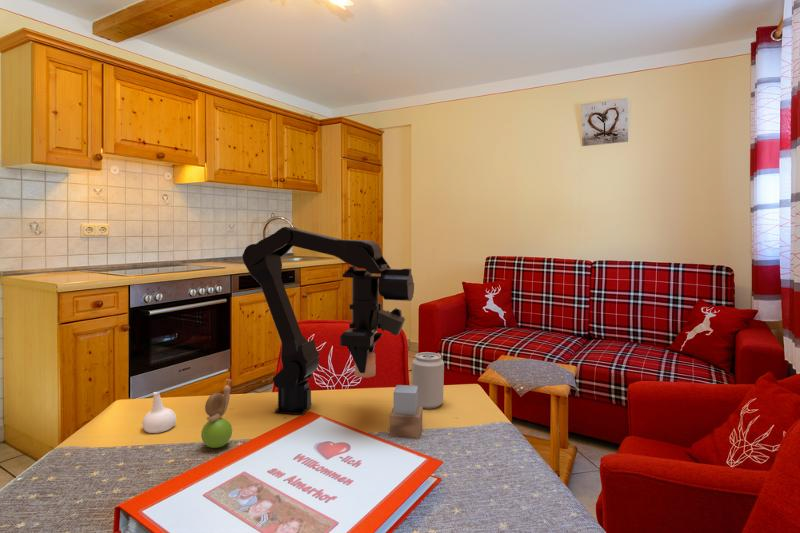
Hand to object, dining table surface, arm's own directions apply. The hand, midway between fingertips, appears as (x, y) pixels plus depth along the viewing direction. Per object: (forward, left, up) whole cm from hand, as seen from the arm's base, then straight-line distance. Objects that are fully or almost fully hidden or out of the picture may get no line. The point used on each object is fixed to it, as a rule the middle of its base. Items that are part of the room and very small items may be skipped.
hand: (364, 369), depth 102 cm
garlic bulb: (-40, -13, -11) cm, 44 cm away
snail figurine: (-24, -18, -11) cm, 32 cm away
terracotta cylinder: (0, 0, -1) cm, 1 cm away
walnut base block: (+10, -5, -11) cm, 16 cm away
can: (+13, +11, -11) cm, 20 cm away
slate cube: (+10, -5, -7) cm, 13 cm away
